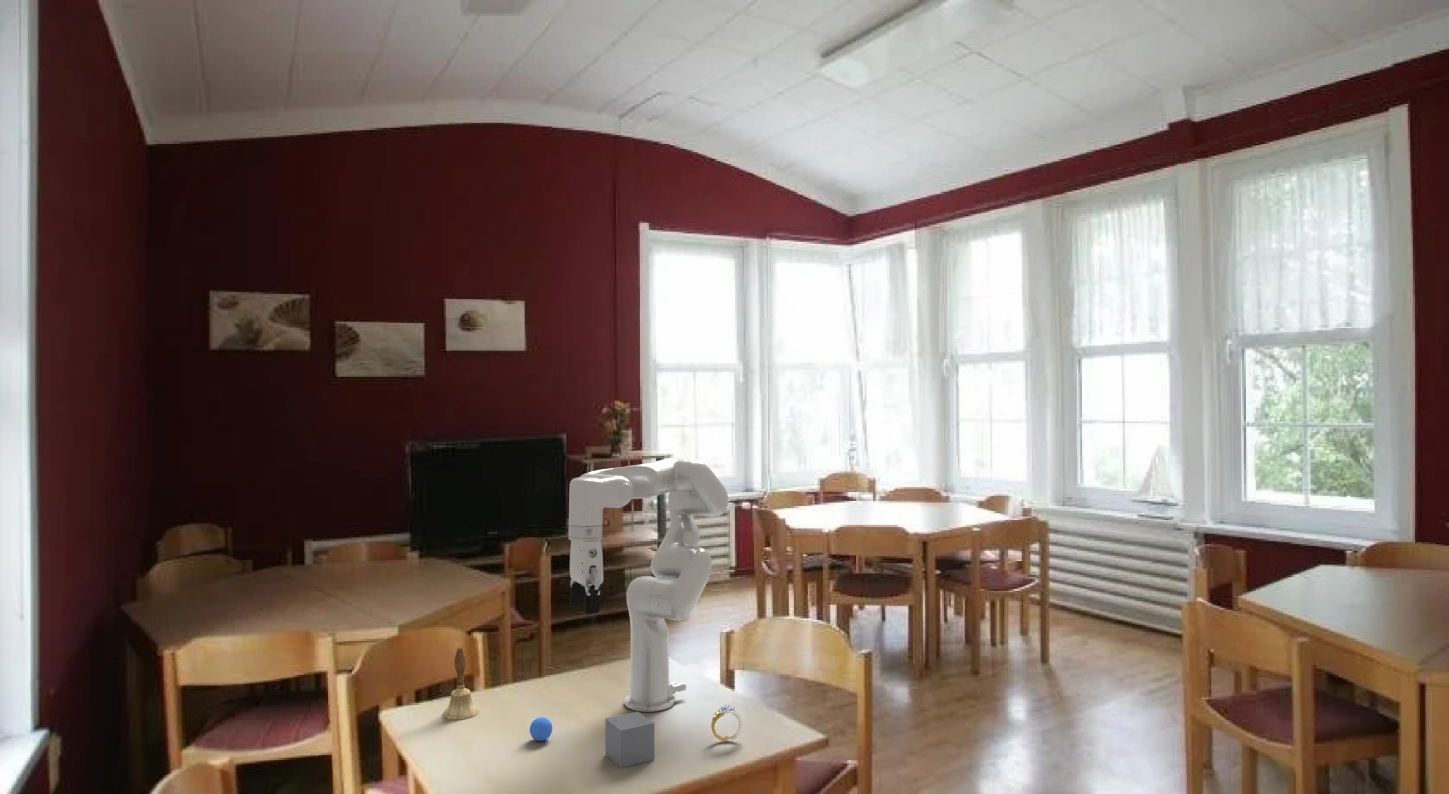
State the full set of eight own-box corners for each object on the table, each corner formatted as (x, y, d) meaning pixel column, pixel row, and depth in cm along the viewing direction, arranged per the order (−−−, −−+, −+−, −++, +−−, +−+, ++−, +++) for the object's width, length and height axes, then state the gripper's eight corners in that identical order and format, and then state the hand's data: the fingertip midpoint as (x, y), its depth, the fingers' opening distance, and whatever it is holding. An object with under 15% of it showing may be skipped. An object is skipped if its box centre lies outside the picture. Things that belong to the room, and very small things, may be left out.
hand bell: (468, 721, 203) (468, 654, 203) (436, 718, 205) (436, 652, 204) (484, 708, 211) (484, 644, 211) (453, 706, 213) (453, 642, 213)
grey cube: (638, 746, 188) (638, 711, 188) (654, 759, 182) (654, 723, 182) (605, 754, 184) (605, 718, 184) (620, 768, 178) (620, 730, 178)
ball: (547, 734, 195) (547, 712, 195) (555, 741, 191) (555, 719, 191) (526, 738, 193) (526, 716, 193) (534, 746, 188) (534, 723, 188)
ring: (742, 738, 193) (742, 703, 193) (742, 744, 190) (742, 708, 190) (711, 739, 193) (711, 703, 193) (711, 744, 190) (711, 708, 190)
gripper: (615, 536, 188) (614, 615, 188) (588, 526, 203) (587, 599, 203) (582, 539, 184) (581, 618, 184) (557, 528, 199) (556, 602, 199)
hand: (584, 608), depth 193 cm, fingers open, 9 cm apart
